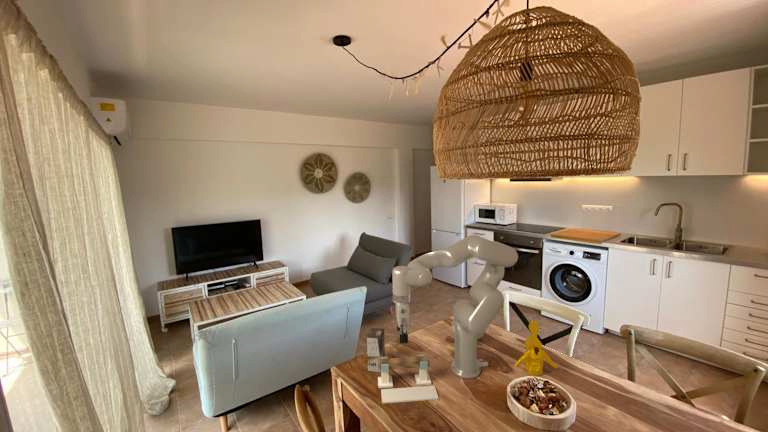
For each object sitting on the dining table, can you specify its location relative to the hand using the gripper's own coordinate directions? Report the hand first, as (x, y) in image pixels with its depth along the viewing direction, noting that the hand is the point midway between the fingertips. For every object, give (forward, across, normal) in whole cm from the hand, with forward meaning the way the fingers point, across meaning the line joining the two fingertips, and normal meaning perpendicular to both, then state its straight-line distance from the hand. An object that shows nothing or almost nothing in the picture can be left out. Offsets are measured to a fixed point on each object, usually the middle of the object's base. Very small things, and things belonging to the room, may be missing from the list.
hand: (402, 336), depth 128 cm
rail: (+14, 0, 0) cm, 14 cm away
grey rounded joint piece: (+20, +31, -39) cm, 54 cm away
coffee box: (+21, +12, +10) cm, 26 cm away
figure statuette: (+20, +1, -58) cm, 61 cm away
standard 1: (+21, 0, +7) cm, 22 cm away
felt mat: (+21, -8, -2) cm, 22 cm away
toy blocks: (+20, 0, -9) cm, 22 cm away
